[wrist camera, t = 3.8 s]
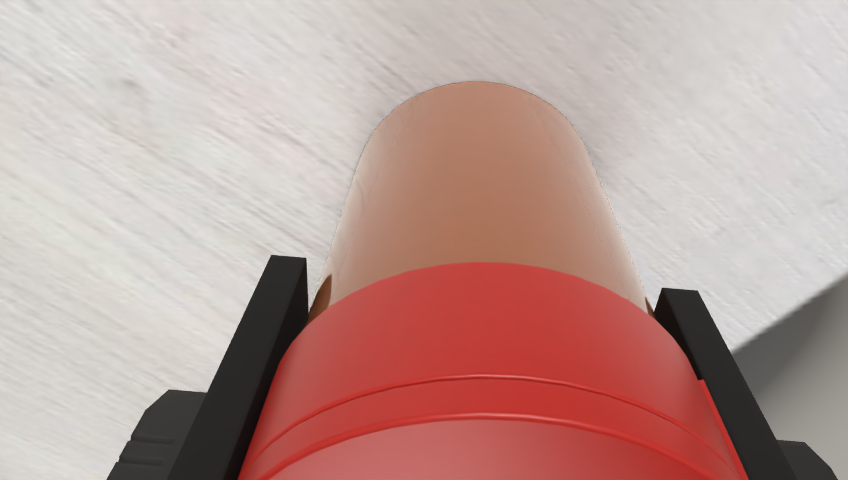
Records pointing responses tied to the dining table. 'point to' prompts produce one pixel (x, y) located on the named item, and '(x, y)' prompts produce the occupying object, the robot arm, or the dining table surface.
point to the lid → (487, 386)
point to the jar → (476, 195)
